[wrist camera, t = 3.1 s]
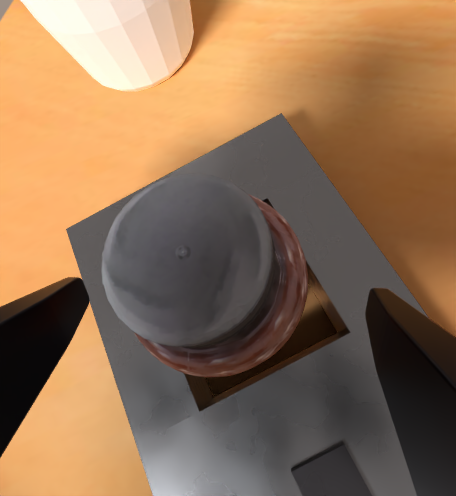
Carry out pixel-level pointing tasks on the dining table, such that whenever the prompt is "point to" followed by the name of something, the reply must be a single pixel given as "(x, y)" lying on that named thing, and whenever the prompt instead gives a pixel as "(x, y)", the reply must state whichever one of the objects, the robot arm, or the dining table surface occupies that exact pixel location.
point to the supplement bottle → (205, 275)
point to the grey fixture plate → (280, 375)
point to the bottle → (121, 37)
